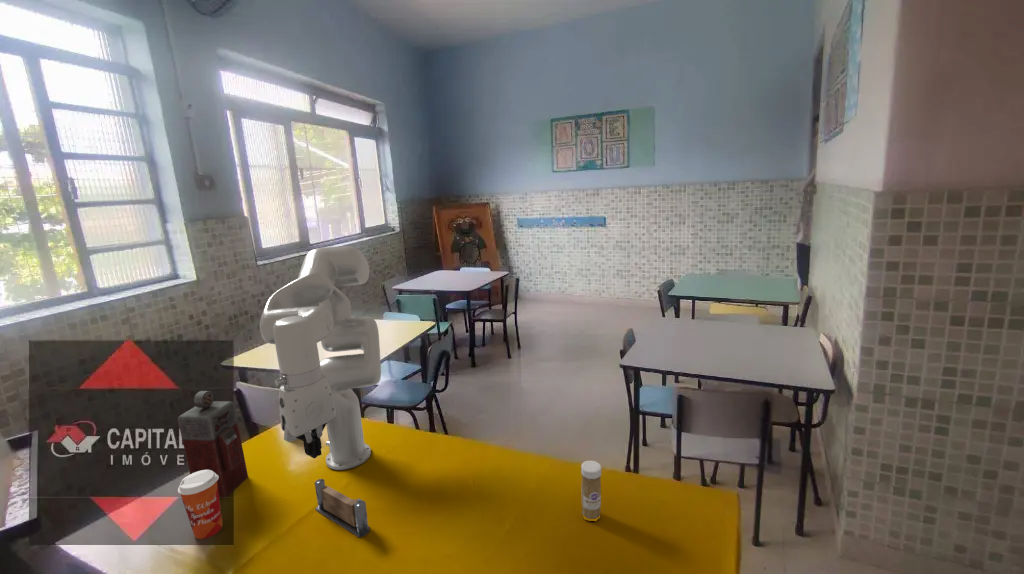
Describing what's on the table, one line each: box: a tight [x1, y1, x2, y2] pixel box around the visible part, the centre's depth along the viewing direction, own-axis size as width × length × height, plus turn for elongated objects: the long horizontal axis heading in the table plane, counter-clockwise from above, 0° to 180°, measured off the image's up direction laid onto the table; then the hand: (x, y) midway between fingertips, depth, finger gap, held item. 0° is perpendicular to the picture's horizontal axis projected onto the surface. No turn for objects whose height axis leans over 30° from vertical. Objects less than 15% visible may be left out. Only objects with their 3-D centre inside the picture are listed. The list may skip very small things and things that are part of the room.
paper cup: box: [177, 470, 223, 540], centre depth 105 cm, size 8×8×14 cm
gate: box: [321, 485, 358, 527], centre depth 107 cm, size 12×2×6 cm, turn 56°
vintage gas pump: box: [177, 390, 249, 499], centre depth 119 cm, size 9×11×28 cm
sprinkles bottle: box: [580, 460, 602, 519], centre depth 104 cm, size 5×5×13 cm
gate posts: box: [314, 478, 371, 538], centre depth 107 cm, size 18×4×8 cm, turn 56°
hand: (314, 454), depth 96 cm, fingers closed
